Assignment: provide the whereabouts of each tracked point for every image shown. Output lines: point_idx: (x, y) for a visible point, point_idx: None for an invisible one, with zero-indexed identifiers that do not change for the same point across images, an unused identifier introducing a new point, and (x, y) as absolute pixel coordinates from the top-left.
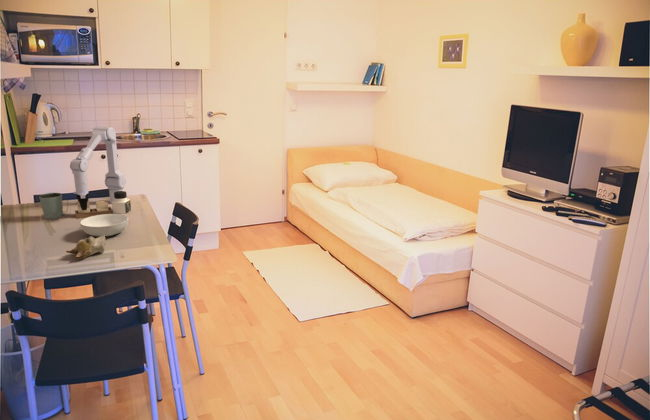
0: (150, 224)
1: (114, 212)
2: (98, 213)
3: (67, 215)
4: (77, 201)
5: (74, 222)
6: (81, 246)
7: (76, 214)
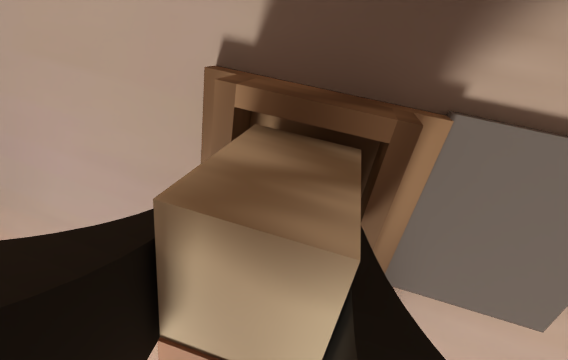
0: None
1: None
2: None
3: (548, 15)
4: (257, 241)
5: (162, 32)
6: None
7: (215, 91)
